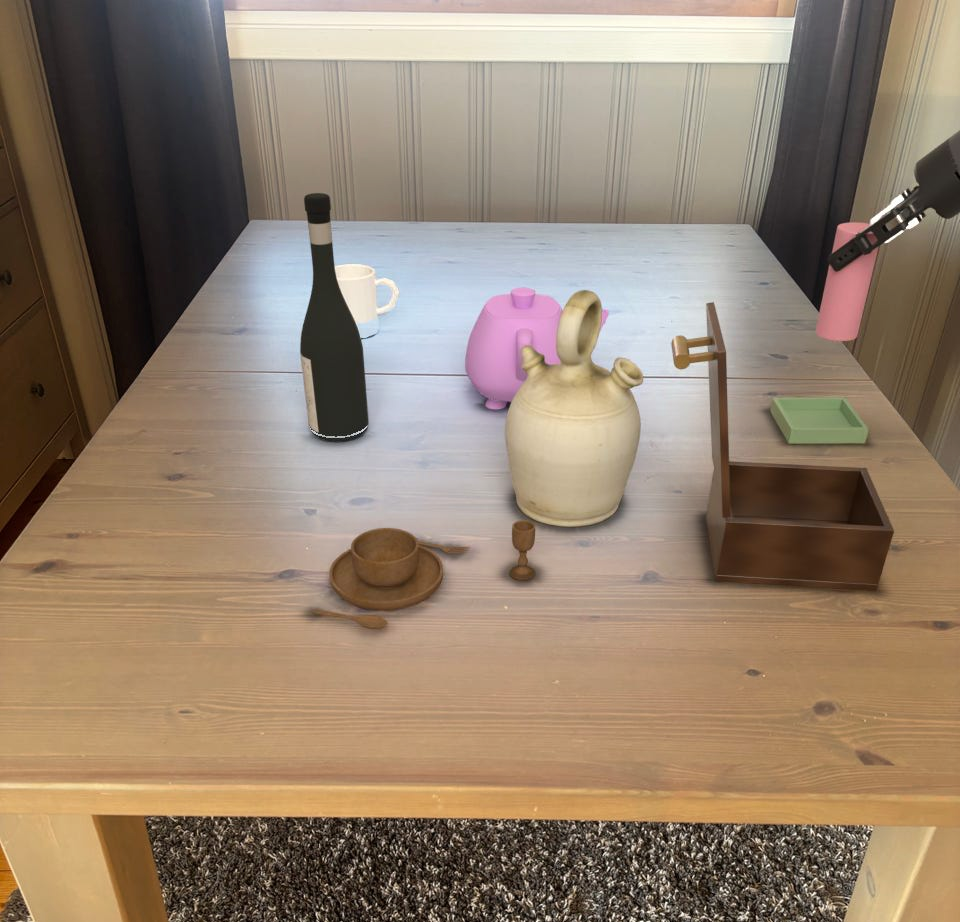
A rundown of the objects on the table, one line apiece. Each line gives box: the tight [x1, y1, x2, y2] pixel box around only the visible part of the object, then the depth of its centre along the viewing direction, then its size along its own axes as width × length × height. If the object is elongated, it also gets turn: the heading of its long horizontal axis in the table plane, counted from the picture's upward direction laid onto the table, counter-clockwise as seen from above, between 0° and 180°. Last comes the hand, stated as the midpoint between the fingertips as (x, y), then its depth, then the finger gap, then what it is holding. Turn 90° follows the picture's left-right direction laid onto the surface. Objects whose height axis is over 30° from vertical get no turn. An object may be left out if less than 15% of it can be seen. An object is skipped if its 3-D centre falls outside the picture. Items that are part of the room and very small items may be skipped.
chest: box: [705, 460, 895, 591], centre depth 105 cm, size 17×14×7 cm
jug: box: [504, 289, 644, 528], centre depth 109 cm, size 15×16×25 cm
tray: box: [769, 396, 870, 445], centre depth 132 cm, size 10×10×2 cm
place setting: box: [310, 519, 536, 629], centre depth 100 cm, size 18×20×6 cm
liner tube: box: [815, 221, 880, 342], centre depth 121 cm, size 5×5×13 cm
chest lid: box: [670, 301, 731, 518], centre depth 99 cm, size 17×14×5 cm
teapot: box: [464, 287, 610, 410], centre depth 136 cm, size 20×20×15 cm
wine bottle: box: [299, 192, 369, 443], centre depth 123 cm, size 8×8×30 cm
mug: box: [335, 263, 401, 324], centre depth 159 cm, size 8×12×10 cm, turn 82°
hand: (838, 258), depth 120 cm, fingers closed on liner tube, 5 cm apart
